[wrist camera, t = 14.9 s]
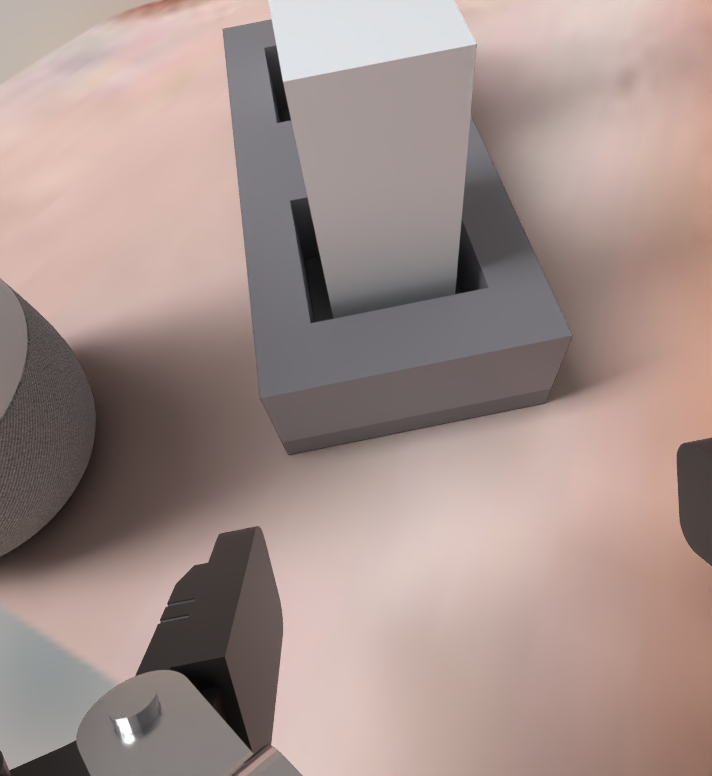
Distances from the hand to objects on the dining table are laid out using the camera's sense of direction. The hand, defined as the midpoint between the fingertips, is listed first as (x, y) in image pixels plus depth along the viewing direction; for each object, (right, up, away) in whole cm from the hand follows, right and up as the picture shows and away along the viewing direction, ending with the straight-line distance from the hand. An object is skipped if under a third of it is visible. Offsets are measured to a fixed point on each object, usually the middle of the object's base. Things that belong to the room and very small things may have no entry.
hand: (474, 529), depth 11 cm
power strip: (-2, +10, +14) cm, 17 cm away
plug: (-1, +6, +10) cm, 12 cm away
